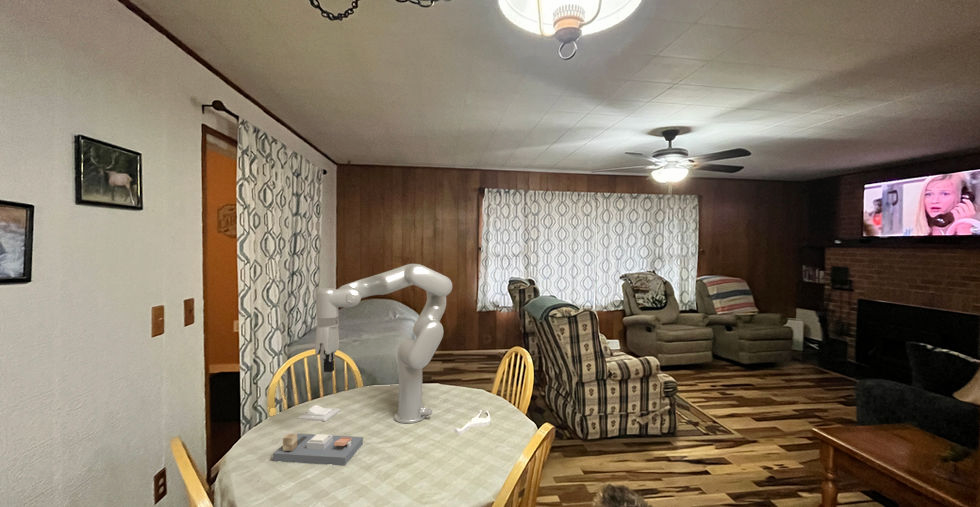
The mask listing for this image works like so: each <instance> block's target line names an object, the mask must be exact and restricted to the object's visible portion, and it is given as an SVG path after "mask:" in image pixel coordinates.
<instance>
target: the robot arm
mask: <svg viewBox="0 0 980 507" xmlns="http://www.w3.org/2000/svg"><path fill="white" fill-rule="evenodd" d="M411 286H416V287H418V288H419V289H422V290H424V291H425V292H426V303H425V305H424V306H423V309H422V310H421V312H420V314H419V315H418V317H417V319H416V321H415V323H414V325H413V327H412V332H413V335H414V336H415V337H416V339H411V338H410V339H405V340H403V341H402V342H401V343H400V344H399V346H398V348H397V363H398V365H397V366H398V395H397V396H398V401H397V402H398V405H397V406H398V407H397V409H398V411H396V412H395V413H394V415H393V416H394V417H393V418H394V420H395V421H396V422H397V423H401V424H414V423H418V422H421V421H423V420H424V419H425V418H426V416H432V415H433V410H432V409H431V407H425V404H424V403H423V369H424V368H425V367H426V366H428V364H429V363H430V362H431V360H432V358H433V356H434V354H435V353H436V352H437V349H438V348H439V345H440V343H441V341H442V339H443V338H444V333H445V332H444V327H443V324H442V323H441V319H442V317H443V315H444V313H445V312H446V311H445V310H446V309H447V296H448V295H449V294H451V293H452V290H453V282H452V281H451V279H450V278H449V277H448V276H446V275H443V274H442V273H440V272H437V271H435V270H434V269H432V268H429V267H427V266H425V265H422V264H420V263H408V264H405V265H402V266H399V267H396V268H393V269H391V270H387V271H384V272H381V273H378V274H375V275H371V276H369V277H368V276H367V277H365V278H361V279H358V280H355V281H352V282H349V283H346V284H344V285H341V286H340V287H338V288H337V289H336V288H334V287H327V288H326V287H324V288H319V289H317V290H316V292H315V304H316V305H315V309H316V310H315V314H316V315H315V316H316V332H315V345H314V346H315V348H314V350H315V355H319V359H320V360H322V362H323V372H324V373H332V372H334V371H335V356H336V355H335V353H337V350H338V349H339V348H340V334H339V333H340V332H339V325H340V323H339V322H340V319H339V318H340V317H339V308H353V307H356V306H357V305H359V303H361V299H364V298H367V297H371V296H379V295H380V296H383V295H389V294H391V293H393V292H397V291H399V290H401V289H404V288H407V287H411Z"/></svg>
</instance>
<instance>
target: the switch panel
mask: <svg viewBox="0 0 980 507" xmlns="http://www.w3.org/2000/svg"><path fill="white" fill-rule="evenodd" d="M317 434H318V433H316V434H315V433H314V434H311V433H297V447H296V448H295V449H293V450H292V451H285V450H283V445H281V446H280V447H279V448H278V449H276V450H275V451H274V452H273V453H272V462H278V461H282V463H295V462H297V463H298V464H314V465H327V464H332V466H343V465H345V466H346V465H347V464H348V463H347V462H349V461H350V460H351V459H353V457H354V456H355V454H356V453H357V452H358V451H359V449H360V448H361V447H362V446H363V444H364V436H350V435H349V436H348V435H346V436H345V435H335V434H332V435H331V434H328V435H329V438H328V439H327V440H326V441H325V442H324V443H319V442H311V439H313V438H314V437H315V436H316V435H317ZM341 437H351V438H352V440H351V441H349V442H348V443H347V445H344V446H337V445H334V443H335V442H336V441H337V440H339V439H341ZM357 450H358V451H357Z"/></svg>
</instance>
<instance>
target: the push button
mask: <svg viewBox="0 0 980 507" xmlns="http://www.w3.org/2000/svg"><path fill="white" fill-rule="evenodd" d="M316 434H317V435H316V436H315V437H314V438H313V439H311V442H319V443H324V442H325V441H326V440H327V439H328V438H329V435H330V434H321V433H316Z"/></svg>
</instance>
